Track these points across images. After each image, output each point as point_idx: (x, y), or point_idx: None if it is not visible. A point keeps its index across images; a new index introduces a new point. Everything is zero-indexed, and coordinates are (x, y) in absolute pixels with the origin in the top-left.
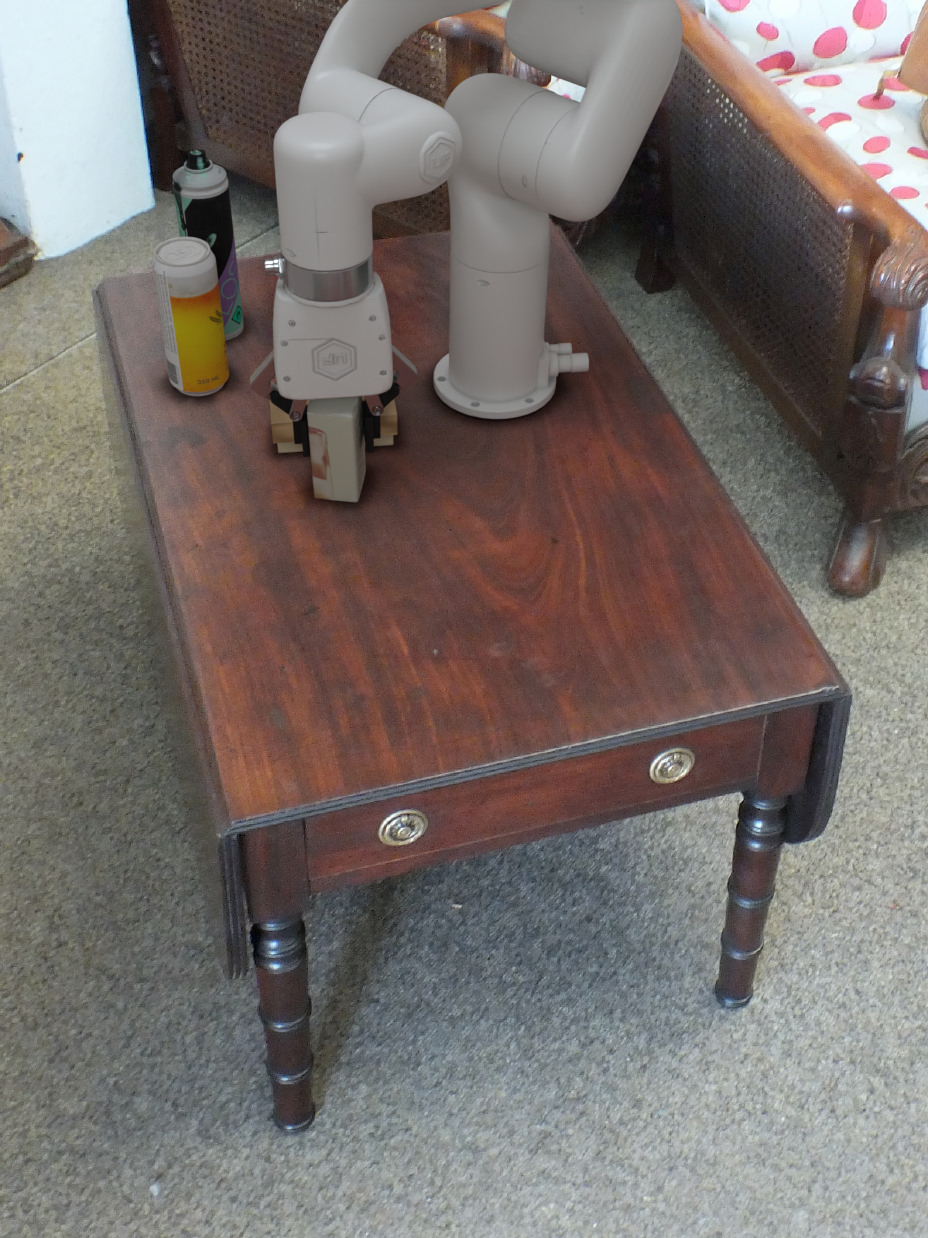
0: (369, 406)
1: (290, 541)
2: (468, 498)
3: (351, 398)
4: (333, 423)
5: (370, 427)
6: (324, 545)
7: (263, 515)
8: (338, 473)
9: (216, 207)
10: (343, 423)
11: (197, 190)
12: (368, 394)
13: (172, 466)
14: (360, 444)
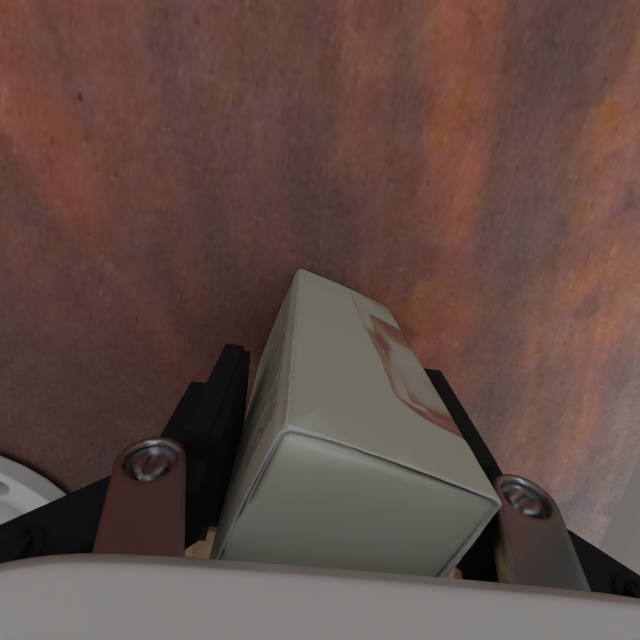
0: (179, 486)
1: (487, 171)
2: (29, 215)
3: (260, 547)
4: (376, 423)
5: (211, 399)
6: (415, 130)
7: (507, 280)
8: (342, 310)
9: None
10: (333, 410)
11: None
12: (115, 570)
13: (602, 453)
14: (262, 379)
